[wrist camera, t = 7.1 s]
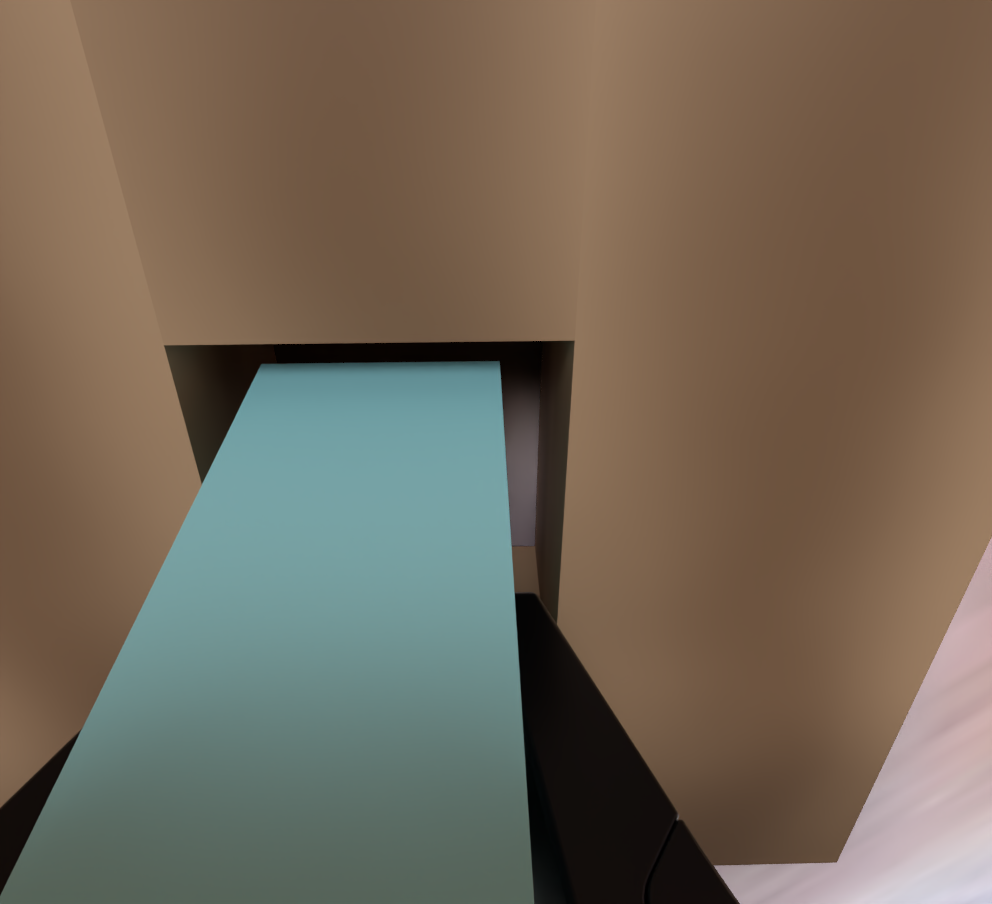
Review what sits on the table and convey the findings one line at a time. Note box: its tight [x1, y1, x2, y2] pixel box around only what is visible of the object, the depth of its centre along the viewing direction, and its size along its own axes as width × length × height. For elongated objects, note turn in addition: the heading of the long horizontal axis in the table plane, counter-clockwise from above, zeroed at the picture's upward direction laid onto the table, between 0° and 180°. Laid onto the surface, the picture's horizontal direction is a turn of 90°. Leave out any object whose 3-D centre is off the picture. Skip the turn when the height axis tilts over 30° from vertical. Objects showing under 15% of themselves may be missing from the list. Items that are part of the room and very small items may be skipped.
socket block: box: [0, 0, 992, 865], centre depth 12 cm, size 16×16×4 cm
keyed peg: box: [0, 361, 534, 904], centre depth 8 cm, size 3×5×8 cm, turn 0°
